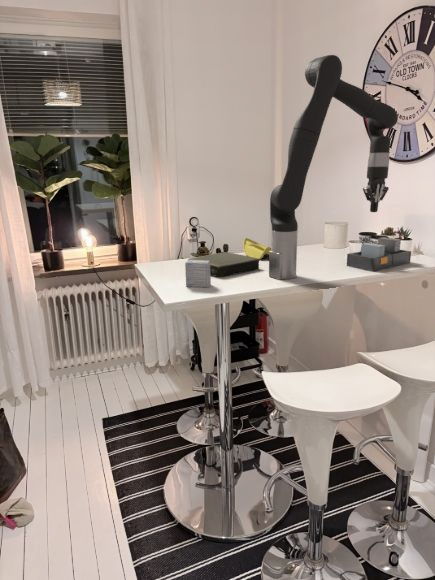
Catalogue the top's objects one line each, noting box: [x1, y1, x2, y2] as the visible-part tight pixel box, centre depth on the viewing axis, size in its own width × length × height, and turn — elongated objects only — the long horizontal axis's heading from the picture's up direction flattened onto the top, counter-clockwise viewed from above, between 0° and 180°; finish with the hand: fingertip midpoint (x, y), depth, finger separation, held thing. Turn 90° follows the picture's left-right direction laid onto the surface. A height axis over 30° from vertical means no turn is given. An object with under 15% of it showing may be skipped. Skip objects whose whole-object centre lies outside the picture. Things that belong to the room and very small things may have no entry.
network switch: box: [187, 251, 260, 278], centre depth 171 cm, size 23×24×5 cm
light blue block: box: [361, 242, 385, 258], centre depth 169 cm, size 4×8×8 cm, turn 33°
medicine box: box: [184, 260, 212, 288], centre depth 146 cm, size 8×4×9 cm, turn 78°
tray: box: [346, 236, 412, 273], centre depth 172 cm, size 24×13×10 cm, turn 123°
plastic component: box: [242, 237, 271, 261], centre depth 196 cm, size 20×7×10 cm
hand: (373, 212), depth 165 cm, fingers closed
